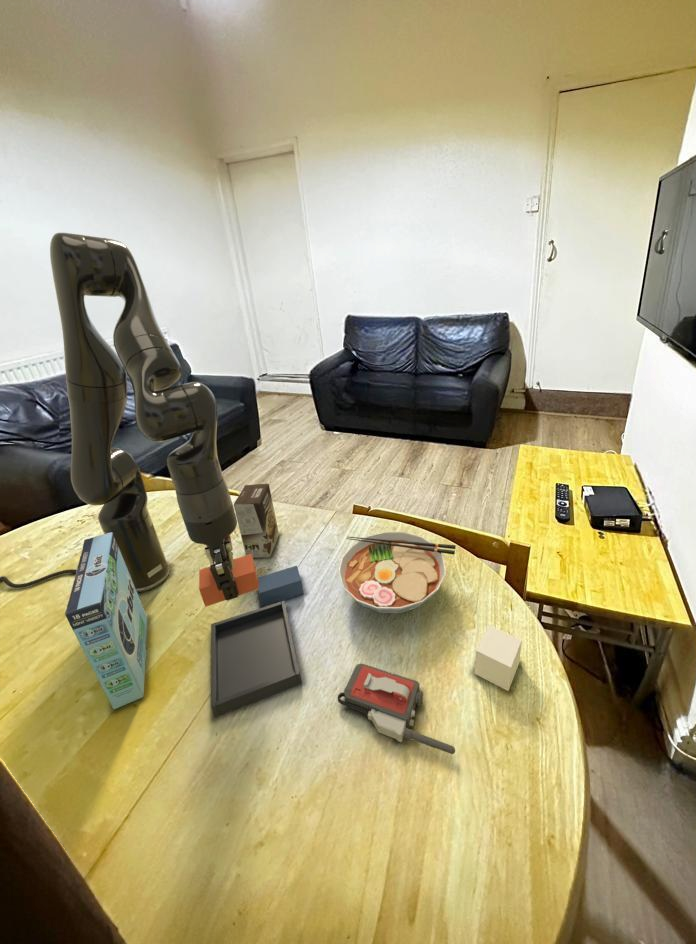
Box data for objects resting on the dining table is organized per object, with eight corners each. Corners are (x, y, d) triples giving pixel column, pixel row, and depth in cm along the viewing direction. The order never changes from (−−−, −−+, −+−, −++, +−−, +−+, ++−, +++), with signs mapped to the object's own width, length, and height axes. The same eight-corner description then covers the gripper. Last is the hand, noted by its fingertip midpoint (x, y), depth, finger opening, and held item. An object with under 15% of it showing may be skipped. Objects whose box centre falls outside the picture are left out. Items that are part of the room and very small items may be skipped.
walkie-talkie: (331, 717, 67) (453, 764, 60) (328, 699, 65) (453, 746, 58) (354, 669, 74) (465, 706, 67) (352, 652, 72) (465, 688, 65)
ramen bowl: (320, 623, 84) (315, 593, 80) (356, 548, 104) (353, 522, 100) (443, 648, 77) (443, 616, 74) (456, 563, 97) (457, 535, 94)
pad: (205, 606, 70) (199, 589, 68) (205, 586, 74) (199, 569, 72) (259, 588, 72) (254, 571, 71) (256, 570, 77) (251, 553, 75)
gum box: (122, 626, 86) (82, 539, 76) (149, 616, 88) (114, 530, 78) (112, 711, 70) (60, 614, 60) (146, 697, 72) (100, 601, 62)
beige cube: (519, 663, 74) (522, 639, 71) (508, 691, 69) (511, 667, 67) (486, 647, 77) (488, 624, 74) (474, 673, 72) (475, 650, 70)
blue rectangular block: (262, 607, 88) (258, 593, 87) (259, 590, 93) (256, 577, 91) (303, 593, 91) (301, 580, 90) (299, 578, 95) (296, 565, 94)
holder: (214, 717, 68) (211, 707, 67) (214, 633, 83) (211, 623, 82) (302, 683, 73) (300, 673, 71) (286, 609, 88) (284, 600, 86)
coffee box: (271, 557, 102) (259, 503, 96) (245, 558, 103) (232, 504, 96) (280, 534, 111) (269, 482, 104) (256, 534, 111) (244, 483, 104)
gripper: (183, 491, 71) (208, 567, 78) (179, 540, 59) (209, 625, 66) (229, 480, 73) (249, 555, 80) (234, 524, 61) (257, 608, 68)
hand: (231, 586), depth 73 cm, fingers closed on pad, 5 cm apart
